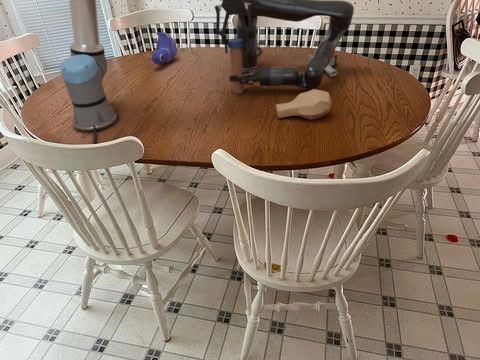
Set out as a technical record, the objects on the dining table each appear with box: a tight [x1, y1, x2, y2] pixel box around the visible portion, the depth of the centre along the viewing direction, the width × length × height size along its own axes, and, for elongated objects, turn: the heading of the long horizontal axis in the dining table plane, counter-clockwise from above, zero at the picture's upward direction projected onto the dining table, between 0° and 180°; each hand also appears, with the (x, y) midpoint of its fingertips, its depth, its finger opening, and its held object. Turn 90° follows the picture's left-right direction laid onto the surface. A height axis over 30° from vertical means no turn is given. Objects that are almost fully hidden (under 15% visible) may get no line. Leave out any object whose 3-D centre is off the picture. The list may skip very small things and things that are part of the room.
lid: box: [227, 37, 243, 49], centre depth 139 cm, size 6×6×2 cm
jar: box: [229, 48, 245, 95], centre depth 144 cm, size 5×5×20 cm
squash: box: [274, 88, 332, 120], centre depth 126 cm, size 11×20×9 cm, turn 92°
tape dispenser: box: [308, 51, 338, 78], centre depth 165 cm, size 18×5×20 cm
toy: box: [150, 31, 178, 69], centre depth 181 cm, size 10×17×25 cm
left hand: (235, 51), depth 140 cm, fingers open, 7 cm apart
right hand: (231, 76), depth 147 cm, fingers closed on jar, 4 cm apart
